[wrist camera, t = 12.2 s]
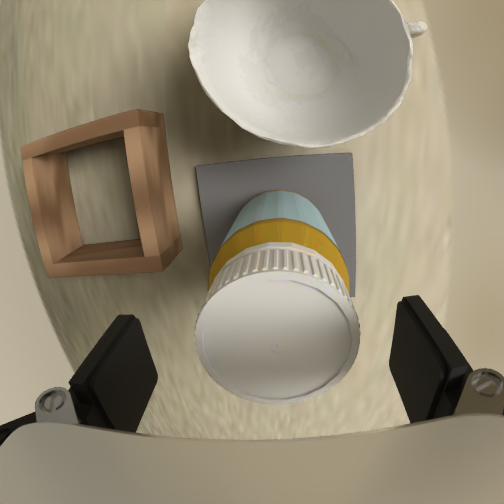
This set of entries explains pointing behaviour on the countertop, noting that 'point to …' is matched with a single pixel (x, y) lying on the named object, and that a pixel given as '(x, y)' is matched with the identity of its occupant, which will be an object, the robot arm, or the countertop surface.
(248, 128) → the teacup
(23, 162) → the brown open frame
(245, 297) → the bottle
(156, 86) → the countertop surface
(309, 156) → the mat
